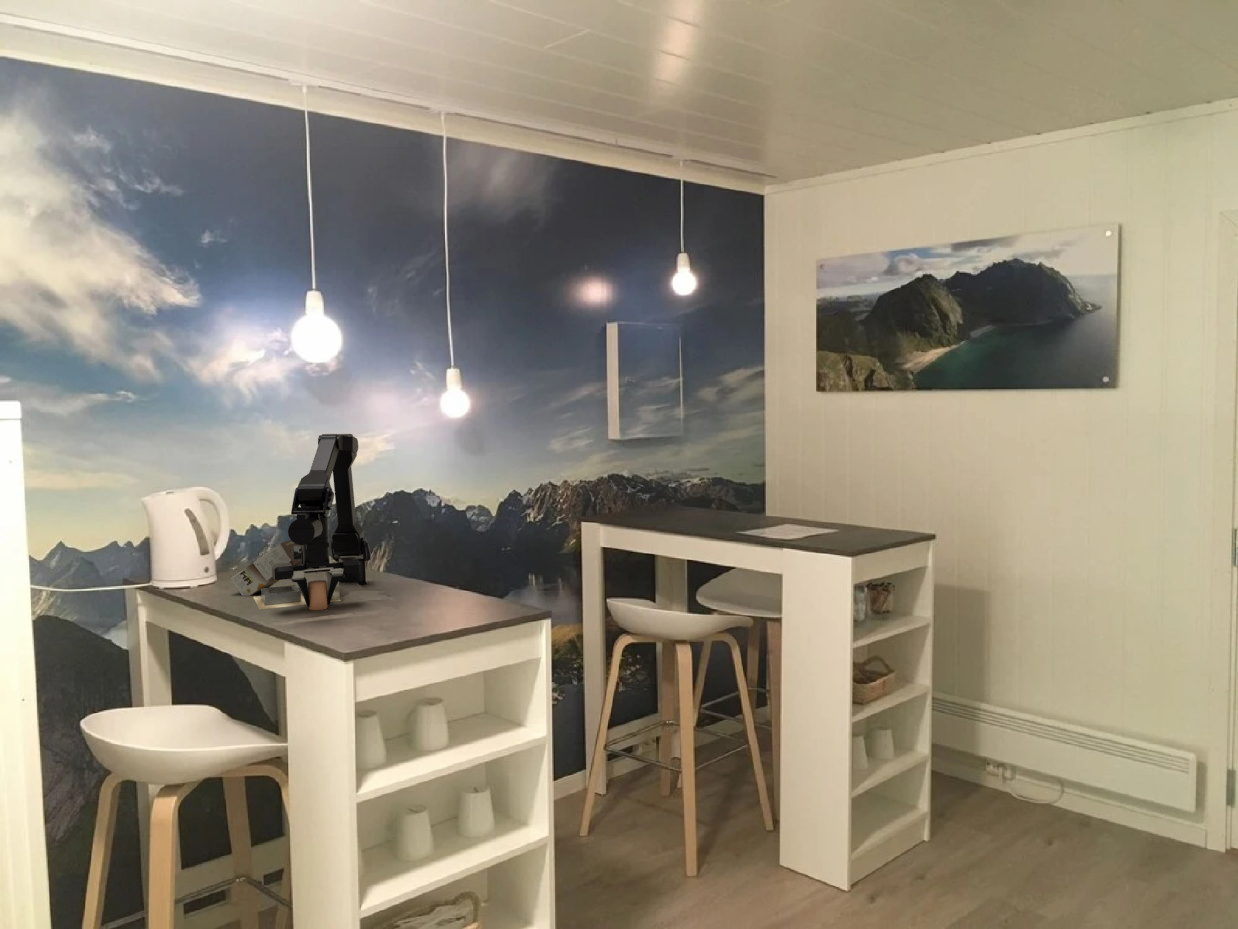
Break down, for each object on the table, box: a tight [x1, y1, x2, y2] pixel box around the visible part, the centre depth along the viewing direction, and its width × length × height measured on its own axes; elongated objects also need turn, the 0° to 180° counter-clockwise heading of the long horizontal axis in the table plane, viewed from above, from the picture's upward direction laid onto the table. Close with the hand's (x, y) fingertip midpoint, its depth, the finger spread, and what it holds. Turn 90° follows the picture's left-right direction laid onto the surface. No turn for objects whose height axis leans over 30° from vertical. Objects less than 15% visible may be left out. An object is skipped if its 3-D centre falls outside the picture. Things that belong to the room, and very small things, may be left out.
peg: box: [307, 579, 328, 611], centre depth 221 cm, size 4×4×7 cm
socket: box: [260, 584, 301, 606], centre depth 230 cm, size 8×8×2 cm
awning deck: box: [252, 555, 342, 611], centre depth 231 cm, size 18×15×10 cm
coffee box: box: [230, 539, 303, 597], centre depth 238 cm, size 9×6×16 cm
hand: (318, 605), depth 221 cm, fingers closed on peg, 4 cm apart
